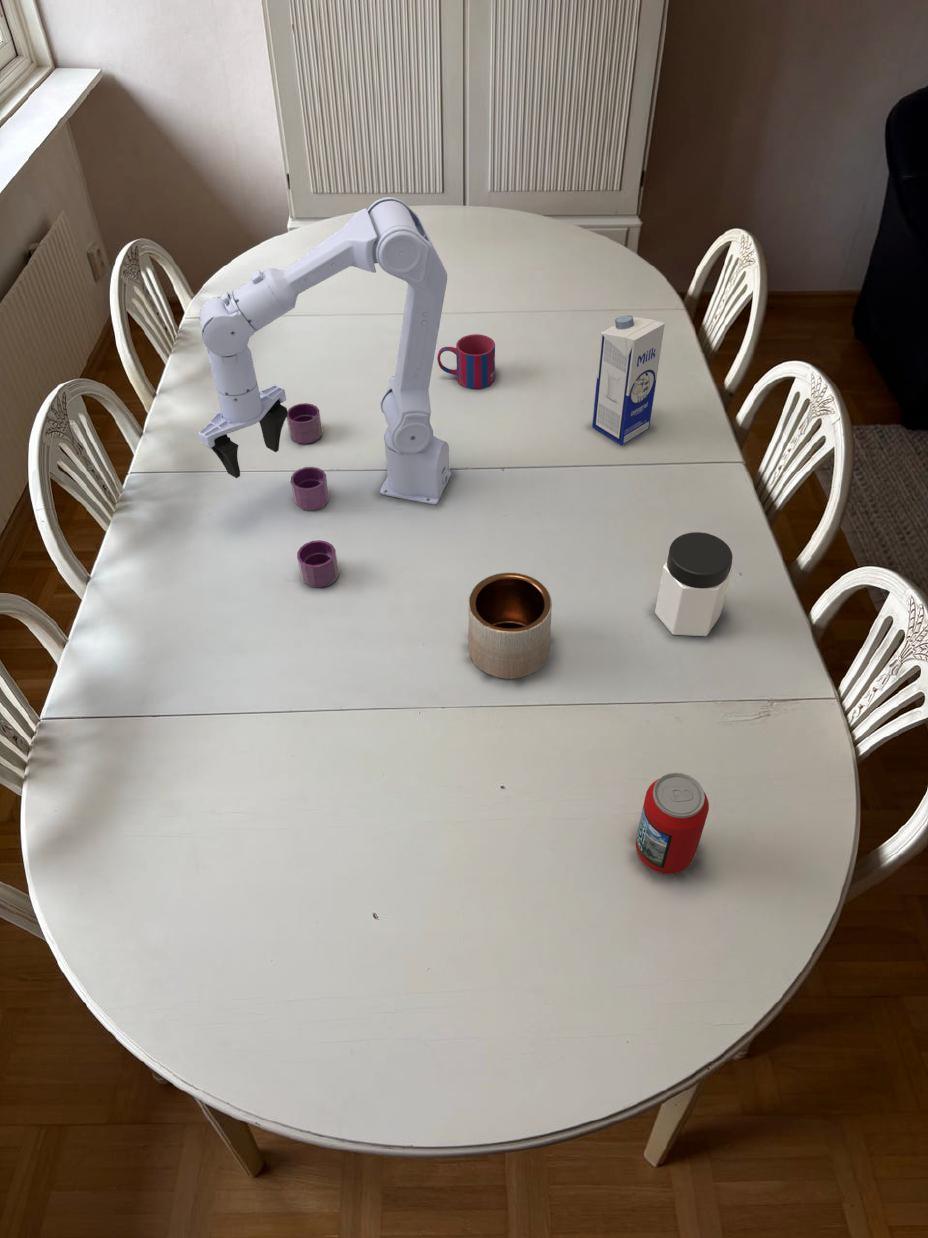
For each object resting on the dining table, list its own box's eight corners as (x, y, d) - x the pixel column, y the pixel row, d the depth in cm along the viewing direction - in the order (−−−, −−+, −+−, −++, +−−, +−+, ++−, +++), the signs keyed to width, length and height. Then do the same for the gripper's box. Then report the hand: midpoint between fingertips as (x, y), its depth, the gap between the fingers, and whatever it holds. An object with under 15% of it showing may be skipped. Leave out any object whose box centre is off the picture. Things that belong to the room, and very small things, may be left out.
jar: (731, 626, 136) (748, 564, 128) (681, 647, 134) (694, 585, 125) (693, 584, 142) (707, 522, 133) (644, 603, 140) (655, 541, 131)
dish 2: (334, 492, 157) (331, 470, 153) (321, 514, 153) (317, 492, 150) (303, 486, 158) (299, 464, 155) (289, 508, 155) (285, 486, 151)
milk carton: (620, 446, 163) (634, 339, 148) (591, 427, 167) (601, 321, 152) (650, 428, 166) (666, 321, 151) (620, 410, 170) (632, 304, 155)
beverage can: (629, 827, 116) (640, 769, 107) (686, 822, 116) (702, 764, 107) (641, 880, 111) (654, 824, 103) (700, 875, 112) (718, 819, 103)
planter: (456, 634, 136) (454, 586, 129) (527, 610, 139) (529, 561, 132) (488, 692, 130) (488, 644, 123) (563, 665, 132) (567, 617, 125)
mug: (492, 390, 174) (493, 356, 169) (436, 387, 175) (434, 353, 170) (496, 368, 179) (496, 334, 174) (441, 365, 180) (439, 332, 175)
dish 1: (327, 428, 168) (324, 406, 165) (315, 447, 165) (311, 425, 161) (298, 422, 169) (294, 400, 166) (285, 442, 166) (280, 419, 162)
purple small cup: (344, 566, 146) (341, 544, 142) (330, 592, 142) (326, 570, 139) (310, 559, 147) (306, 537, 144) (295, 584, 143) (291, 562, 140)
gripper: (256, 350, 143) (271, 427, 153) (176, 397, 136) (197, 475, 146) (289, 368, 140) (303, 445, 150) (210, 417, 132) (229, 495, 143)
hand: (253, 461), depth 148 cm, fingers open, 7 cm apart
